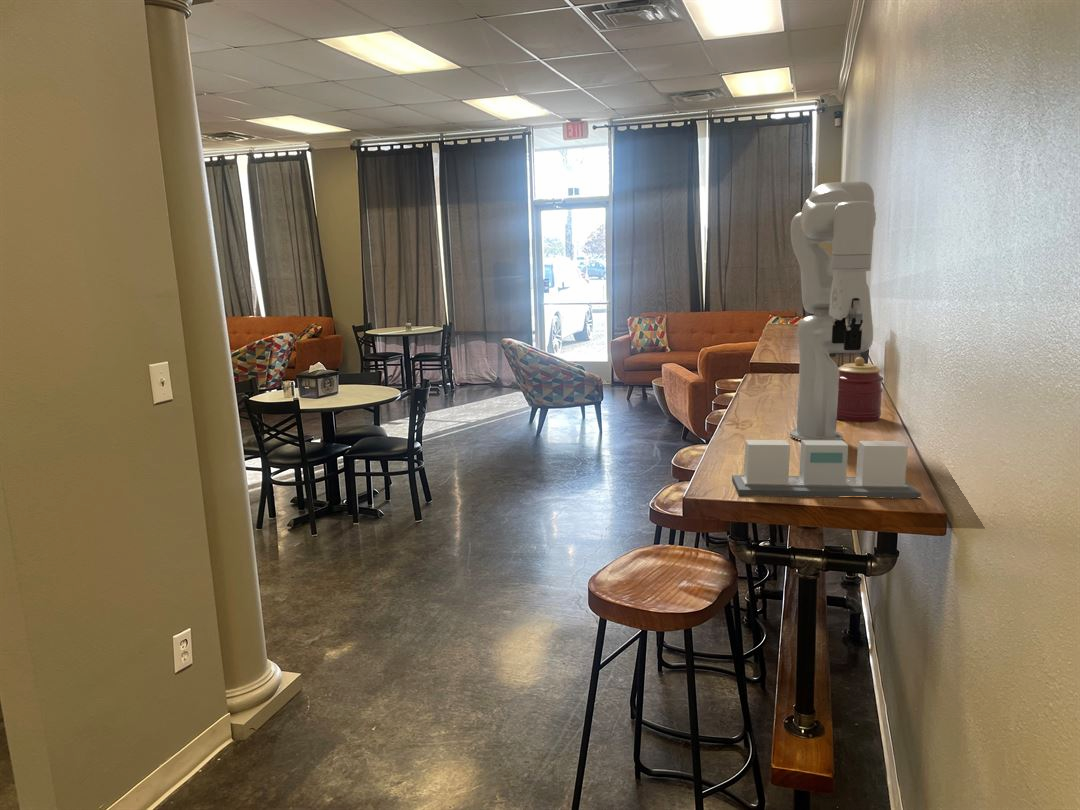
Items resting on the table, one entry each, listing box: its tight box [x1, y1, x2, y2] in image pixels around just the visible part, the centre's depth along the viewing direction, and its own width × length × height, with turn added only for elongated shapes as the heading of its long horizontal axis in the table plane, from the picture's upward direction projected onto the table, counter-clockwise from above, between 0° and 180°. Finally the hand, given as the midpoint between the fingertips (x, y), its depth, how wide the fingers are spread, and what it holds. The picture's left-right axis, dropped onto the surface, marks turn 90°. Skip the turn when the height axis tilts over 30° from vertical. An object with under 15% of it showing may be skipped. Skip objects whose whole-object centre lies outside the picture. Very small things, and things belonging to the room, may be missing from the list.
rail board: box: [731, 474, 922, 499], centre depth 146 cm, size 10×34×1 cm, turn 83°
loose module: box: [798, 439, 849, 485], centre depth 145 cm, size 4×8×8 cm, turn 83°
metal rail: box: [741, 477, 908, 489], centre depth 146 cm, size 5×31×1 cm, turn 83°
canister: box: [837, 356, 884, 423], centre depth 208 cm, size 13×13×18 cm
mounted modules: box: [743, 439, 909, 486], centre depth 145 cm, size 4×30×8 cm, turn 83°
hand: (845, 346), depth 153 cm, fingers open, 9 cm apart
